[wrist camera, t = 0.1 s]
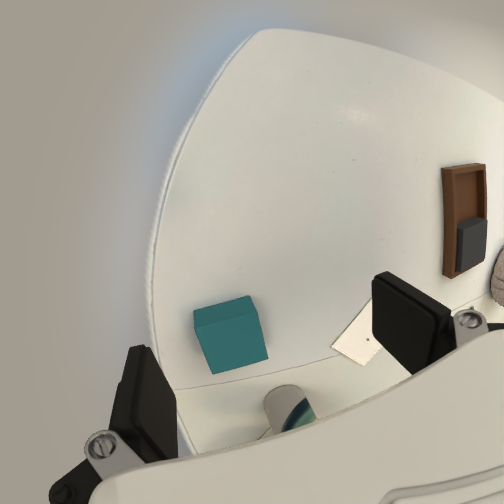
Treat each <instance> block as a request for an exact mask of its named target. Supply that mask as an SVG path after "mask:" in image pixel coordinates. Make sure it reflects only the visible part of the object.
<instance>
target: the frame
mask: <svg viewBox="0 0 504 504" xmlns="http://www.w3.org/2000/svg"><path fill="white" fill-rule="evenodd" d="M485 169H486V166H485V164H480V163H473V164H466V165H459V166H452V167H445V168H441V171H442V183H443V200H444V256H443V273H442V275H444V276H446V277H448V278H450V279H453V278H454V277H456V276H458V275H460V274H462V273H464V272H465V271H467V270H469V269H471V268H472V267H474V266H476V265H478V264H479V263H481V262H483V261H484V259H483V260H482V261H480V262H478V263H477V264H475V265H473V266H471V267H470V268H468V269H466V270H464V271H462V272H459V271H457V270H455V262H456V245H457V224H459V223H461V222H464V221H466V220H469V219H472V218H474V217H480V218H483V219H487V185H486V170H485Z"/></svg>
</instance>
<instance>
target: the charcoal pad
mask: <svg viewBox="0 0 504 504" xmlns="http://www.w3.org/2000/svg"><path fill="white" fill-rule="evenodd" d="M486 239H487V219H483V218H480V217H474V218H472V219H469V220H466V221H464V222H461V223H459V224H457V245H456V262H455V270H457V271H459V272H462V271H464V270H466V269H468V268H470V267H471V266H473V265H475V264H477V263H478V262H480V261H482V260H483V259H485V252H486Z"/></svg>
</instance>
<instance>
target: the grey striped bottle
mask: <svg viewBox="0 0 504 504" xmlns="http://www.w3.org/2000/svg"><path fill="white" fill-rule="evenodd" d="M264 409H265V412H266V415H267V418H268V421H269V423H270V426H271V429H272V432H273V434H274V435H277V434H280V433H283V432H286V431H289V430H292V429H295V428H298V427H301V426H304V425H306V424H309V423H312V422H314V421H317V420H318V419H317V417H316V415H315V413H314V411H313V410H312V408H311V406H310V404H309V402H308V400H307V398H306V396H305V395H304V393H303V391H302V390H301V389H300V388H299V387H297V386H293V385H285V386H281V387H278V388H276V389H274V390H272V391H271V392H270V393H269V394H268V395H267V396H266V398H265V400H264Z"/></svg>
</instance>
